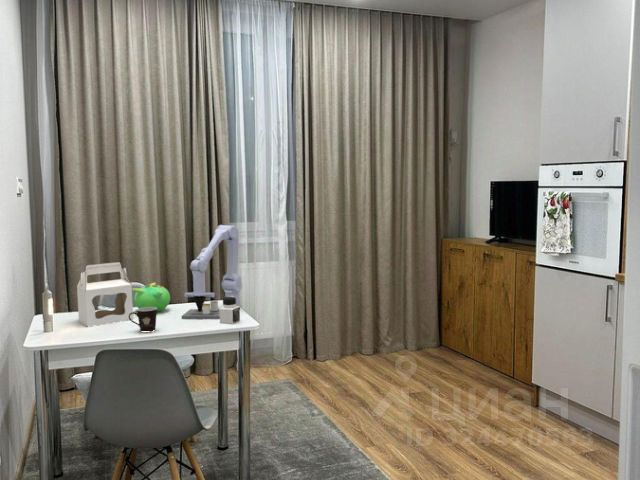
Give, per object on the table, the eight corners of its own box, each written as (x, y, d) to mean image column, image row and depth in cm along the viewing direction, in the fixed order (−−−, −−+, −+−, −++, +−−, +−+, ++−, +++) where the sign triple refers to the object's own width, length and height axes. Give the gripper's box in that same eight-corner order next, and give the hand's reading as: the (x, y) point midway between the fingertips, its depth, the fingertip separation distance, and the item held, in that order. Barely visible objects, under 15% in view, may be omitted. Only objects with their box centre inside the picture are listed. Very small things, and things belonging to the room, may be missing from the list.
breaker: (212, 309, 295) (211, 300, 294) (218, 309, 295) (217, 300, 294) (210, 311, 292) (210, 301, 291) (216, 311, 292) (216, 301, 291)
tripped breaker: (204, 312, 288) (204, 303, 288) (210, 312, 288) (210, 303, 287) (202, 314, 285) (202, 304, 285) (209, 314, 285) (208, 304, 284)
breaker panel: (190, 312, 298) (190, 309, 298) (227, 312, 297) (227, 309, 297) (181, 319, 283) (181, 315, 283) (220, 319, 282) (219, 316, 282)
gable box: (87, 327, 270) (83, 267, 267) (78, 322, 280) (75, 264, 277) (133, 319, 284) (131, 262, 281) (123, 314, 294) (121, 260, 291)
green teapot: (174, 308, 308) (173, 280, 306) (165, 315, 291) (163, 286, 290) (140, 308, 308) (139, 281, 307) (129, 315, 292) (128, 286, 290)
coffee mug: (161, 329, 265) (160, 307, 264) (151, 333, 257) (150, 311, 256) (139, 327, 268) (138, 306, 267) (128, 332, 260) (127, 310, 259)
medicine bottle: (233, 324, 272) (232, 299, 271) (219, 323, 275) (218, 298, 273) (240, 320, 279) (239, 296, 278) (226, 319, 281) (226, 295, 280)
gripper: (182, 285, 282) (183, 313, 283) (211, 285, 281) (212, 313, 282) (186, 283, 289) (187, 309, 290) (215, 283, 288) (216, 310, 289)
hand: (200, 311), depth 287 cm, fingers closed
